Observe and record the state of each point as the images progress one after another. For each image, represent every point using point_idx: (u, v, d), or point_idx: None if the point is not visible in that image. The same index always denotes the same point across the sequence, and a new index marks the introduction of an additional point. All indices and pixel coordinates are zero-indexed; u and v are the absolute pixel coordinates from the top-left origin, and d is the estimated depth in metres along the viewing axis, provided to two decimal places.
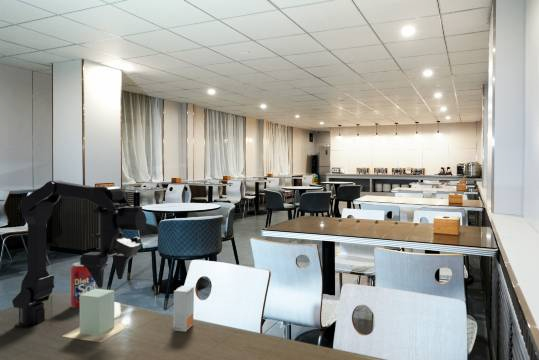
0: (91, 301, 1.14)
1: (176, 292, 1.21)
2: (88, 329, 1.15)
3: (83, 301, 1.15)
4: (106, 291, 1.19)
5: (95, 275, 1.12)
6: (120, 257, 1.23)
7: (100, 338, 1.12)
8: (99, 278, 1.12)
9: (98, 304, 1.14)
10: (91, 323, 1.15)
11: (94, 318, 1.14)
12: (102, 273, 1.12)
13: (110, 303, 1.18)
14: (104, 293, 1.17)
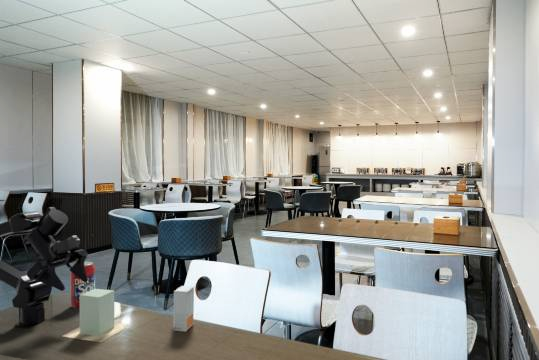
0: (91, 301, 1.14)
1: (176, 292, 1.21)
2: (88, 329, 1.15)
3: (83, 301, 1.15)
4: (106, 291, 1.19)
5: (51, 282, 1.15)
6: (75, 265, 1.26)
7: (100, 338, 1.12)
8: (56, 281, 1.15)
9: (98, 304, 1.14)
10: (91, 323, 1.15)
11: (94, 318, 1.14)
12: (55, 276, 1.15)
13: (110, 303, 1.18)
14: (104, 293, 1.17)
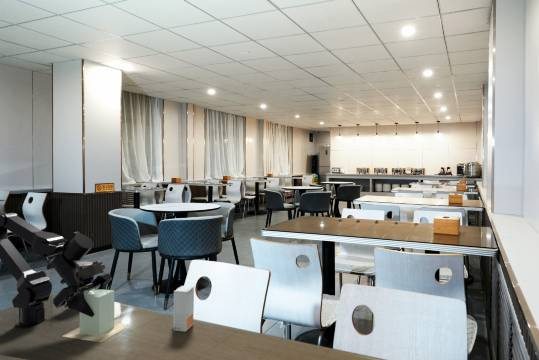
0: (91, 301, 1.14)
1: (176, 292, 1.21)
2: (88, 329, 1.15)
3: None
4: (106, 291, 1.19)
5: (81, 308, 1.14)
6: None
7: (100, 338, 1.12)
8: (85, 307, 1.14)
9: (98, 304, 1.14)
10: (91, 323, 1.15)
11: (94, 318, 1.14)
12: (84, 302, 1.14)
13: (110, 303, 1.18)
14: (104, 293, 1.17)
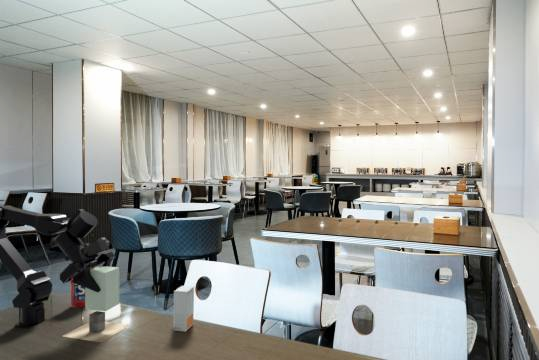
0: (98, 277, 1.15)
1: (176, 292, 1.21)
2: (94, 304, 1.16)
3: None
4: (111, 268, 1.20)
5: (87, 284, 1.15)
6: None
7: (100, 338, 1.12)
8: (92, 283, 1.15)
9: (105, 279, 1.15)
10: (97, 299, 1.16)
11: (100, 293, 1.15)
12: (91, 277, 1.15)
13: (115, 279, 1.20)
14: (110, 269, 1.19)
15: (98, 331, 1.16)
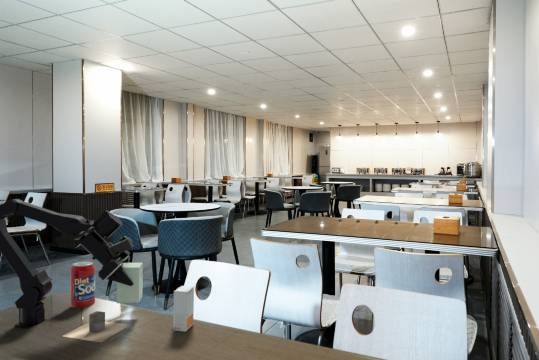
0: (130, 272, 1.25)
1: (176, 292, 1.21)
2: (127, 298, 1.25)
3: None
4: (136, 263, 1.31)
5: (121, 279, 1.24)
6: None
7: (100, 338, 1.12)
8: (126, 278, 1.24)
9: (138, 274, 1.26)
10: (130, 292, 1.26)
11: (133, 287, 1.26)
12: (124, 273, 1.24)
13: (141, 274, 1.30)
14: (137, 264, 1.29)
15: (98, 331, 1.16)
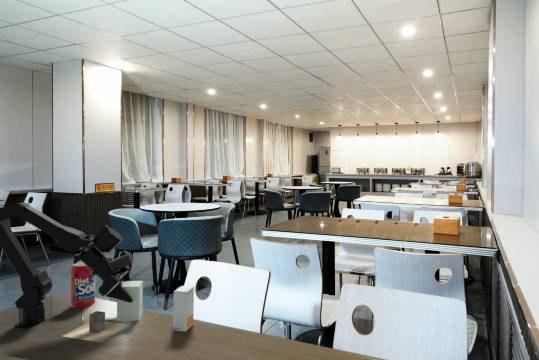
0: (130, 291, 1.26)
1: (176, 292, 1.21)
2: (127, 317, 1.26)
3: None
4: (136, 282, 1.31)
5: (120, 296, 1.23)
6: (123, 278, 1.33)
7: (100, 338, 1.12)
8: (125, 295, 1.23)
9: (138, 293, 1.26)
10: (130, 311, 1.26)
11: (133, 306, 1.26)
12: (124, 289, 1.23)
13: (141, 292, 1.31)
14: (138, 283, 1.29)
15: (98, 331, 1.16)
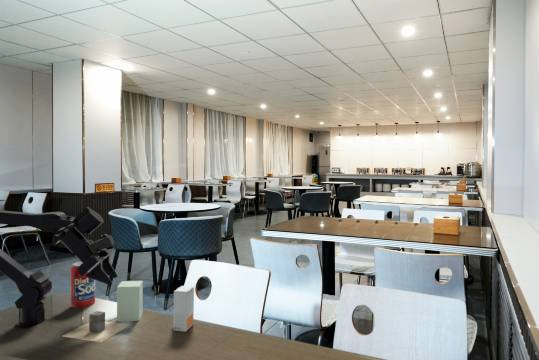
0: (130, 291, 1.26)
1: (176, 292, 1.21)
2: (127, 317, 1.26)
3: (121, 292, 1.25)
4: (136, 282, 1.31)
5: (99, 277, 1.22)
6: (102, 263, 1.32)
7: (100, 338, 1.12)
8: (104, 276, 1.22)
9: (138, 293, 1.26)
10: (130, 311, 1.26)
11: (133, 306, 1.26)
12: (103, 271, 1.22)
13: (141, 292, 1.31)
14: (138, 283, 1.29)
15: (98, 331, 1.16)
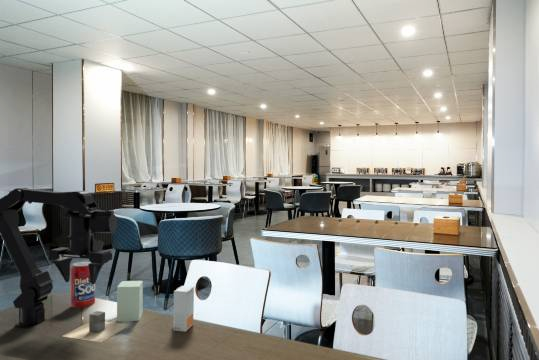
0: (130, 291, 1.26)
1: (176, 292, 1.21)
2: (127, 317, 1.26)
3: (121, 292, 1.25)
4: (136, 282, 1.31)
5: (95, 273, 1.22)
6: (65, 261, 1.25)
7: (100, 338, 1.12)
8: (97, 274, 1.23)
9: (138, 293, 1.26)
10: (130, 311, 1.26)
11: (133, 306, 1.26)
12: None
13: (141, 292, 1.31)
14: (138, 283, 1.29)
15: (98, 331, 1.16)
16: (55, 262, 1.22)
